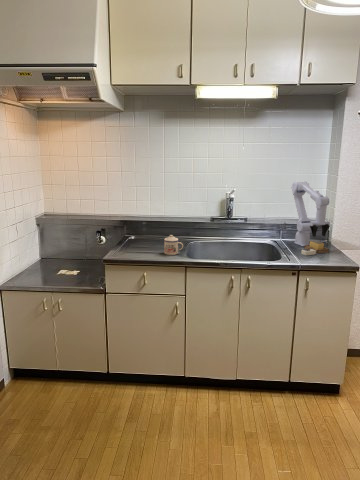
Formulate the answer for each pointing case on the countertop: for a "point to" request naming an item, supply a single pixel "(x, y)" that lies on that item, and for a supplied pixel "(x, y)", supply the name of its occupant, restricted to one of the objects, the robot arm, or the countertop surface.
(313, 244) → the yellow rectangular block
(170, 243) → the teacup with lid
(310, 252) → the bay
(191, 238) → the countertop surface
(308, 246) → the tray
